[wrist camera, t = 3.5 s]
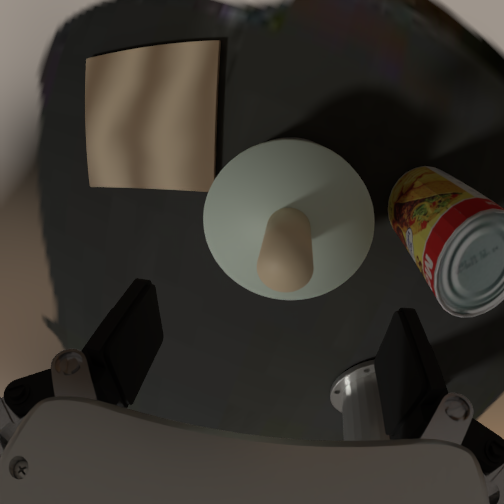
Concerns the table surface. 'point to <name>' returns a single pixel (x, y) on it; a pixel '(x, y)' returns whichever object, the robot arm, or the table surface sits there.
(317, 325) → the table surface
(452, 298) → the canned food
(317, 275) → the lid
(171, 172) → the mat
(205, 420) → the table surface
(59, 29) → the table surface
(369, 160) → the table surface
